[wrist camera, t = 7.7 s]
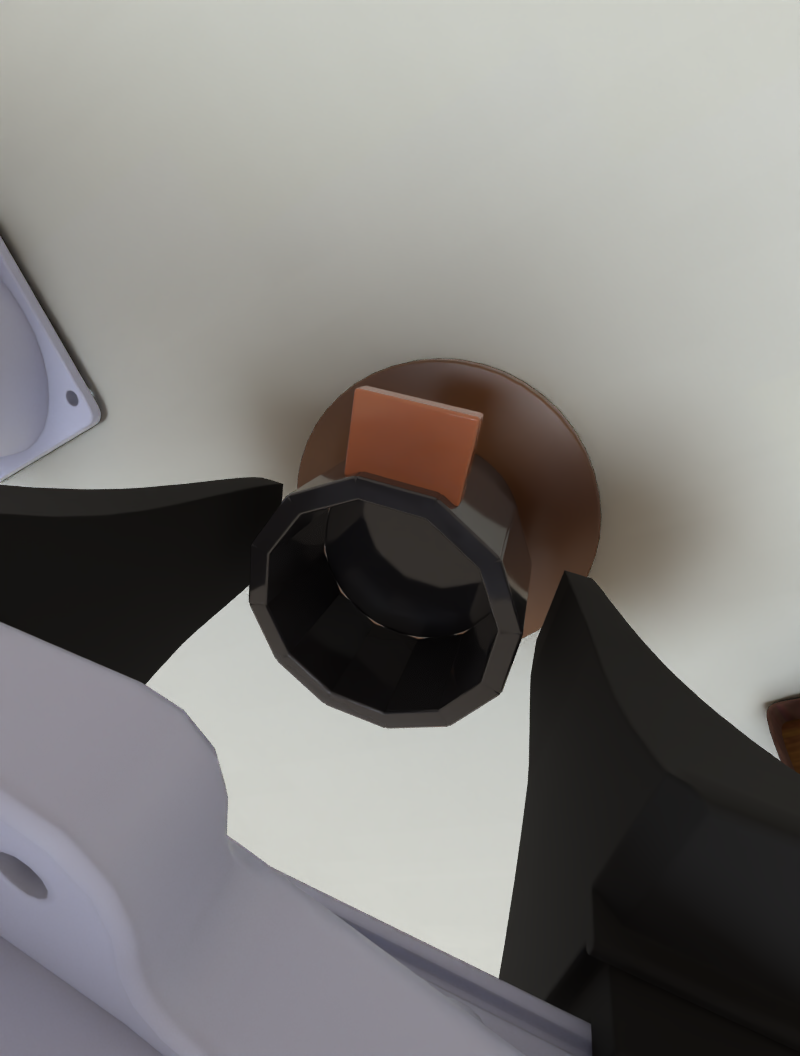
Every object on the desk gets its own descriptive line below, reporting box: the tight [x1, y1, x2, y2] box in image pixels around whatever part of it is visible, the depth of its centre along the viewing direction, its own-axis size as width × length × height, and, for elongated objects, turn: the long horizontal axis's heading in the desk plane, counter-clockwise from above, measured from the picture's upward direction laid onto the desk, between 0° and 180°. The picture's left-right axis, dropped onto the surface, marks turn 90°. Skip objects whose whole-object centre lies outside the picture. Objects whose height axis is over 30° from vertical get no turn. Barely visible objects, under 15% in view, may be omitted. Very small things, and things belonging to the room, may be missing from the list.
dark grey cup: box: [249, 386, 532, 728], centre depth 11 cm, size 6×7×5 cm
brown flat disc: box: [297, 358, 601, 639], centre depth 14 cm, size 9×9×1 cm
